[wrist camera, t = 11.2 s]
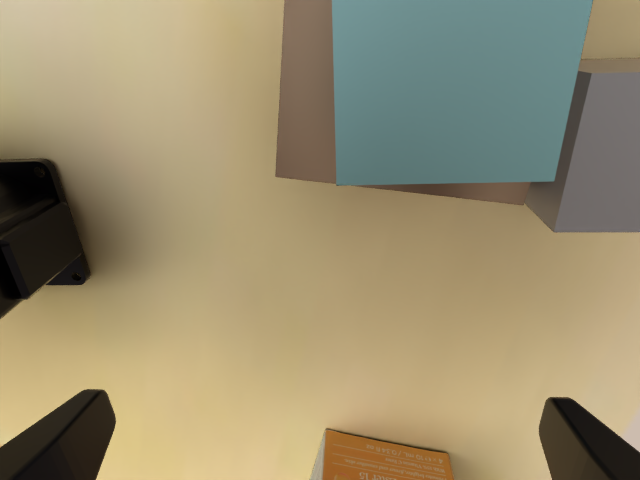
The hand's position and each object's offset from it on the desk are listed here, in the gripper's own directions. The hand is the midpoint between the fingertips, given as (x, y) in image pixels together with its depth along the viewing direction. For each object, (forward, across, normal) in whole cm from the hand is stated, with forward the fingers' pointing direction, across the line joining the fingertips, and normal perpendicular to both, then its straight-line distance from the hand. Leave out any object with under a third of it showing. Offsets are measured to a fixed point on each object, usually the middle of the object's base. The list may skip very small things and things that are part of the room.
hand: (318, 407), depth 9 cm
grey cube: (+12, -10, -3) cm, 16 cm away
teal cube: (+8, -3, -6) cm, 11 cm away
